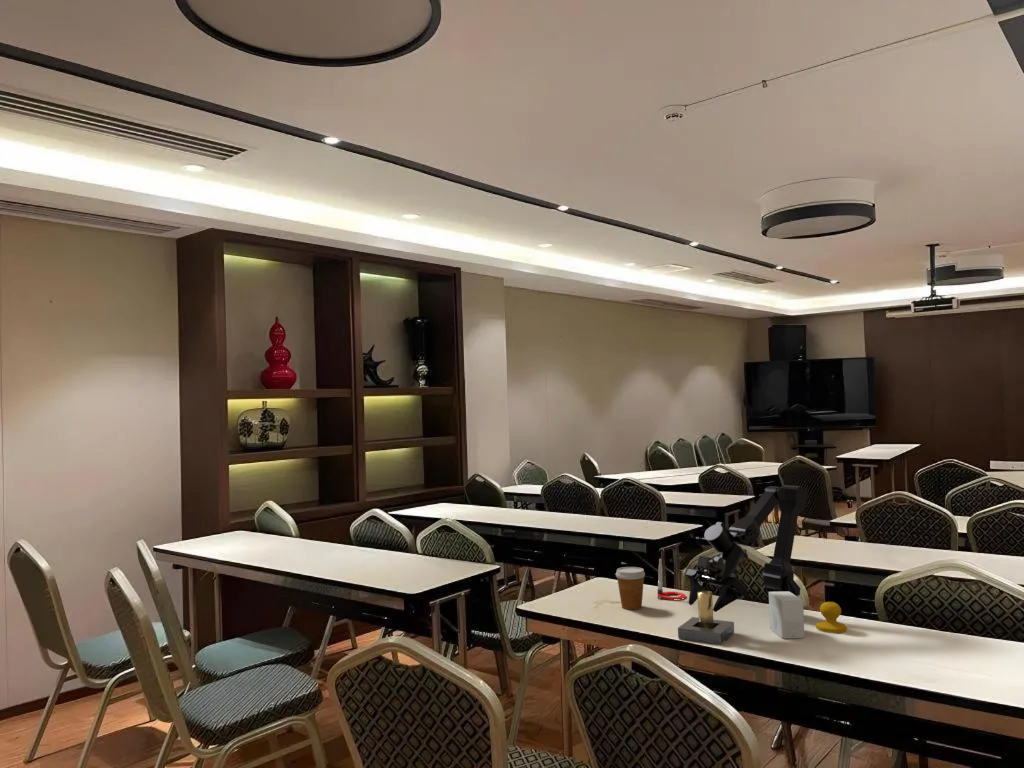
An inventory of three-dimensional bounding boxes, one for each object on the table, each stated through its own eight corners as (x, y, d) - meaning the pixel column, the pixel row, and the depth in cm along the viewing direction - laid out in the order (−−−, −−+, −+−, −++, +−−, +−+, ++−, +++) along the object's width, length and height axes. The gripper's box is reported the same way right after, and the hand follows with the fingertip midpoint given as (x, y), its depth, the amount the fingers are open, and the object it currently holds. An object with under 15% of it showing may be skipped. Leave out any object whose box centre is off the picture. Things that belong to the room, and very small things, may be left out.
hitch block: (734, 632, 214) (733, 621, 214) (721, 644, 203) (720, 633, 204) (693, 627, 220) (692, 616, 220) (678, 638, 210) (677, 627, 210)
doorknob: (819, 623, 219) (849, 627, 215) (813, 631, 213) (844, 634, 208) (818, 597, 220) (847, 600, 215) (812, 604, 213) (842, 607, 208)
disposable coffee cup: (611, 606, 247) (609, 569, 247) (635, 601, 251) (634, 565, 251) (627, 612, 238) (625, 574, 239) (652, 608, 242) (651, 570, 243)
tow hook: (686, 595, 258) (658, 594, 260) (686, 557, 258) (658, 556, 260) (685, 602, 250) (657, 600, 252) (685, 563, 250) (657, 561, 252)
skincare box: (806, 638, 206) (804, 599, 207) (782, 639, 206) (780, 600, 207) (791, 627, 217) (789, 590, 217) (769, 628, 217) (767, 591, 217)
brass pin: (713, 633, 213) (711, 590, 214) (714, 637, 210) (712, 594, 210) (698, 633, 214) (696, 590, 214) (700, 637, 210) (698, 594, 211)
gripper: (688, 540, 223) (662, 584, 216) (738, 549, 207) (711, 596, 201) (708, 563, 226) (683, 607, 220) (759, 573, 211) (733, 621, 204)
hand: (701, 607), depth 211 cm, fingers open, 9 cm apart
